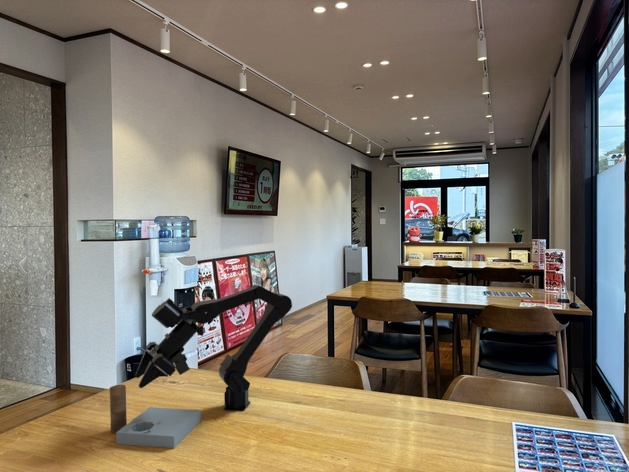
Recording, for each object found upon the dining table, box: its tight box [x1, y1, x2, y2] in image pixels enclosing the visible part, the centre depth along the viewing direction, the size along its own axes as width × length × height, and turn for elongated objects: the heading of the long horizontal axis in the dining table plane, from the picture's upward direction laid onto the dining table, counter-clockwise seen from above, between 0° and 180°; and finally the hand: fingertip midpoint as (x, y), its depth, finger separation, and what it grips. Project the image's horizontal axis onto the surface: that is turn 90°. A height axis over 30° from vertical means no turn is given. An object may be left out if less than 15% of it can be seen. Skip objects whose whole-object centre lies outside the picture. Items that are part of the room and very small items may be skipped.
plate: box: [115, 406, 202, 449], centre depth 119 cm, size 16×16×3 cm
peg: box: [109, 384, 128, 435], centre depth 120 cm, size 4×4×12 cm
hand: (138, 382), depth 123 cm, fingers open, 9 cm apart
